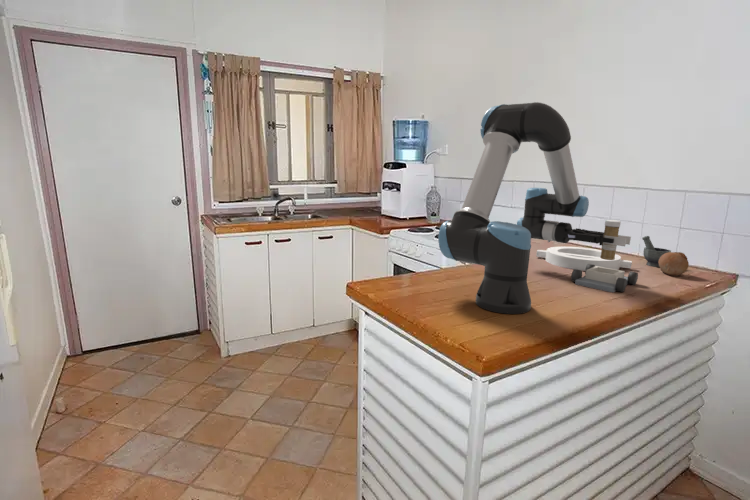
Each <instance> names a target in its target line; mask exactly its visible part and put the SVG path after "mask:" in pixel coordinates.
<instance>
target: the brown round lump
mask: <svg viewBox="0 0 750 500" xmlns="http://www.w3.org/2000/svg"><path fill="white" fill-rule="evenodd" d="M658 263H659V267H658V268H660V271H661V272H662V273H663V274H664V275H668V276H672V277H675V276H681V275H683V274H684V273H685V272H687V271H688V269H689V267H690V266H689V265H690V263H689V260H688V257H687V256H686V254H685V253H684V252H681V251H680V252H679V251H676V252H675V251H671V252H668V253H665V254H663V255H662V256H661V257H660V259H659V262H658Z"/></svg>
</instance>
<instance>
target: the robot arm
mask: <svg viewBox="0 0 750 500" xmlns="http://www.w3.org/2000/svg"><path fill="white" fill-rule="evenodd" d="M480 126H481V127H480V136H481V139H482V142H483V144H484V149H483V151H482V153H481V156H480V159H479V162H478V164H477V166H476V169H475V172H474V175H473V178H472V180H471V183H470V186H469V188H468V190H467V194H466V195H465V199H464V201H463V203H462V204H463V205H462V207H461V209H459V210H456V211H455V212H454V214H453V217H452V219H448V220H445V221H444V222H442V224H441V225H440V227H439V231H438V237H437V238H438V247H439V250H440V252H441V254H442V255H443V256H444V257H445V258H447V259H451V260H454V261H456V262H463V263H469V264H475V265H478V266H483V267H484V271H483V272H484V274H483V278H482V281H481V283H480V286H479V287H478V290H477V292H476V295H475V305H477V306H478V307H479V308H481V309H483V310H487V311H489V312H493V313H500V314H506V315H507V314H509V315H515V314H516V315H519V314H525V313H528V312H530V311H531V308H532V300H531V294H530V291H529V286H528V285H529V284H528V272H529V263H530V257H531V256H530V255H531V248H532V244H531V243H532V239H535V240H543V241H547V243H551V242H556V243H561V244H567V243H569V242H570V241H577V242H582V243H583V242H585V243H590V244H596V245H597V244H599V246H602V244H603V243H604V244H611V245H617V246H619V247H626V245H627V246H628V245H630V244H631V240H632V239H631V238H632V236H631V235H630V236H629V235H621V234H618V237H614V236H606V235H605V236H603V235H604V231H596V230H588V229H583V228H573V226H572V224H571V223H569V222H565V221H564V222H563V221H562V222H561V221H560V222H559V221H558V220H557V221H555V220H548V219H547V220H545V217H546V215H553V216H554V215H556V216H557V215H558V216H566V217H572V218H574V217H575V218H583V217H585V216H586V215H587V212H588V210H589V207H590V206H589V204H590V203H589V201H590V200H589V198H588V197H587V196H583V195H580V192H579V188H578V183H577V177H576V174H575V169H574V164H573V159H572V154H571V149H570V148H571V147H570V145H569V144H570V143H571V140H572V136H571V131H570V128H569V126H568V124H567V121H566V120H565V118H564V117H563V116H562V115H561V114H560V113H559V112H558V111H557V110H556V109H554V108H553V107H552V106H550V105H549V104H546V103H544V102H538V101H537V102H535V101H534V102H524V103H514V104H513V103H511V104H505V103H504V104H500V105H494V106H491V107H489V108H488V110H486V111H485V113H484V115H483V116H482V119H481V122H480ZM522 143H536V144H537V145H538V149H539V150H540V151H542V152H543V154H544V159H545V161H546V165H547V169H548V173H549V176H550V180H551V183H552V188H553V191H554V193H548V189H547V188H546V187H545V188H544V187H528V188H527V190H526V192H525V193H526V194H525V199H524V212H523V213H524V214H523V217H520V218H518V220H517V221H516V223H512V222H507V221H506V222H505V221H499V220H498V221H497V220H494V221H490V219H489V218H490V215H491V213H492V209H493V206H494V205H495V200H496V199H497V196H498V193H499V190H500V188H501V185H502V182H503V180H504V177H505V174H506V170H507V168H508V165H509V163H510V160H511V157H512V154H515V153H516V152H518V151H519V148H520V146H521V144H522Z"/></svg>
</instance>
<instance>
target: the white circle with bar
mask: <svg viewBox="0 0 750 500" xmlns="http://www.w3.org/2000/svg"><path fill="white" fill-rule="evenodd" d="M601 251H602V249H595V248H590V247H581V246H551V247H548V248H546V250H545V249H537V250H536V252H535V253H536V255H535V256H536V258H537V257H539V258H543V259H545V262H547V263H549V264H550V265H553V266H556V267H560V268H563V269H570V270H574V269H577V270H581V271H582V272H583V271H584V272H585V269H586V266H587V264H593V265H595V266H599V267H604V268H610V269H615V270H620V268H624V269H625V268H626V269H632V265H633V264H632V263H633V261H632V260H627V259H626V260H625V259H622V256H621V255H619V254H617V253H615V259H614V260H605V259H602V258H600V256H601Z"/></svg>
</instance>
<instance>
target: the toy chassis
mask: <svg viewBox="0 0 750 500" xmlns="http://www.w3.org/2000/svg"><path fill="white" fill-rule="evenodd" d="M584 274H585V275H584V276H583V271H582V270H577V269H572V273H571V276H570V277H571V278H570V279H571V282H575V283H574V284H575V285H576V286H581V287H587V288H591V289H595V290H599V291H600V290H601V291H605V292H609V293H615V292H620V293H624V292H625V291H626V288H627V285H628V284H629V285H633V286H636V285H637V282H638V279H639V273H638V272H636V271H629V273H628V275H627V276H625V270H620V269H618V270H615V269H610V268H604V267H599V266H595V265H593V264H587V266H586V269H585V271H584Z"/></svg>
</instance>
